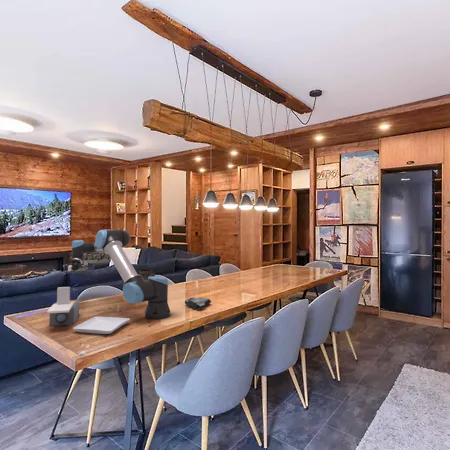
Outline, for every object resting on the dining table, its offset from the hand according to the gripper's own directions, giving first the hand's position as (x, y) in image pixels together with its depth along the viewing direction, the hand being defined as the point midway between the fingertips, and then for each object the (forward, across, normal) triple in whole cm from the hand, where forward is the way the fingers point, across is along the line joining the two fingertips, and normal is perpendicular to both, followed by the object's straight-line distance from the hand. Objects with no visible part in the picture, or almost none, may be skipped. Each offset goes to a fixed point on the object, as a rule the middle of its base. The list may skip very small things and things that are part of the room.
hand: (69, 268), depth 195 cm
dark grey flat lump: (-1, -78, -28) cm, 83 cm away
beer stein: (-38, -48, -27) cm, 67 cm away
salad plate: (+32, -21, -28) cm, 48 cm away
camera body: (+14, 0, -27) cm, 30 cm away
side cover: (+25, 0, -18) cm, 30 cm away
